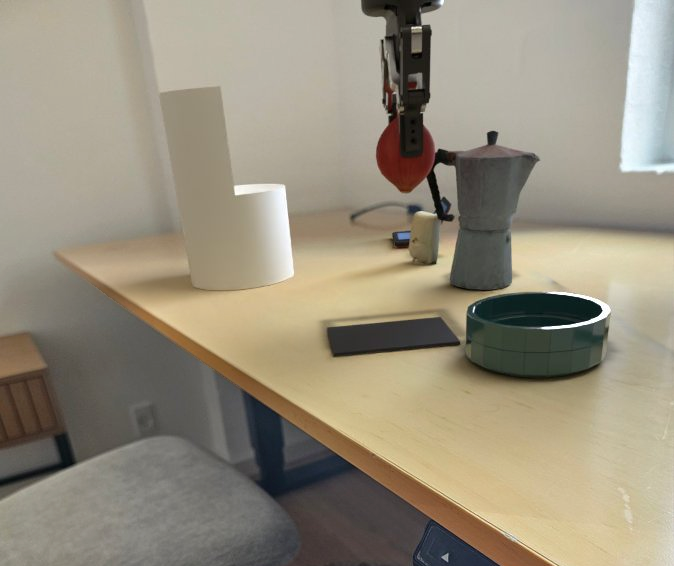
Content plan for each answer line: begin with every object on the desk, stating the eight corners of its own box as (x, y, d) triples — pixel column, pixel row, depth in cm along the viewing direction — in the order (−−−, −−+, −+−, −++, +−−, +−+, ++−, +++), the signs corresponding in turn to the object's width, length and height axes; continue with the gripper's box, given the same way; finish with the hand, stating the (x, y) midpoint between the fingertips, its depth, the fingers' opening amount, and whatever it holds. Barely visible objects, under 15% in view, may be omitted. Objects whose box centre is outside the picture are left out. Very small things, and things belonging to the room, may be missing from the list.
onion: (396, 189, 71) (394, 106, 67) (444, 189, 68) (445, 102, 64) (367, 197, 67) (363, 109, 63) (417, 197, 64) (416, 104, 60)
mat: (440, 319, 81) (440, 316, 80) (460, 344, 72) (460, 341, 71) (327, 330, 80) (327, 327, 80) (333, 356, 71) (333, 353, 71)
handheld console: (391, 237, 135) (390, 199, 131) (444, 234, 134) (444, 195, 131) (394, 249, 124) (392, 207, 120) (451, 245, 123) (452, 203, 120)
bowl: (571, 332, 73) (576, 286, 70) (629, 373, 61) (636, 321, 59) (452, 343, 72) (453, 298, 70) (486, 387, 60) (488, 335, 58)
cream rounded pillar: (447, 259, 112) (447, 210, 108) (436, 266, 108) (436, 215, 104) (415, 258, 114) (414, 210, 111) (404, 265, 110) (403, 215, 107)
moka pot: (530, 292, 89) (540, 128, 80) (418, 291, 94) (415, 137, 84) (535, 276, 97) (544, 125, 88) (431, 276, 102) (430, 133, 92)
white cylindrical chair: (192, 295, 102) (156, 90, 89) (191, 273, 117) (160, 96, 104) (301, 282, 104) (282, 81, 92) (286, 262, 120) (268, 87, 107)
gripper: (463, -77, 52) (460, 156, 59) (426, -38, 65) (427, 149, 72) (369, -70, 51) (378, 163, 59) (350, -32, 64) (360, 155, 72)
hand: (405, 155), depth 66 cm, fingers closed on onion, 6 cm apart
